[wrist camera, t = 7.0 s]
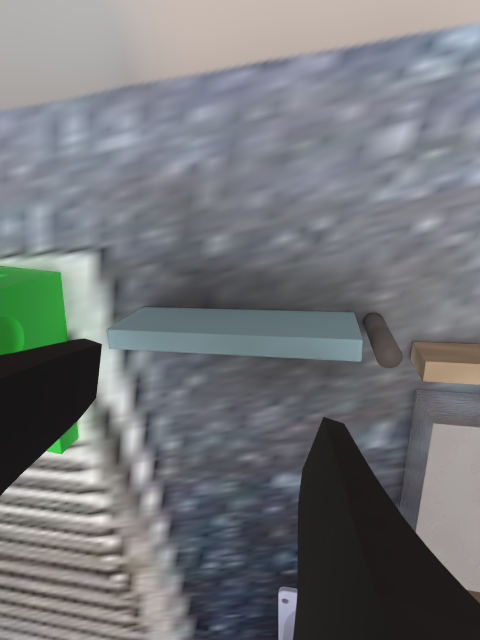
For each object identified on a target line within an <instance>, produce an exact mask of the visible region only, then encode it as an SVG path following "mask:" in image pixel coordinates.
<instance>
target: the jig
mask: <svg viewBox="0 0 480 640" xmlns="http://www.w3.org/2000/svg"><path fill="white" fill-rule="evenodd" d="M364 326H365V329H366V332H367V335H368V338H369V340H370V343H371V346H372V349H373V352H374V354H375V357H376V360H377V362H378V364H379V365H381V366H382V367H385V368H393V367H396V366H397V365H399V364H400V362H401V361H402V352H401V350H400V349H399V347H398V345H397V343H396V341H395V339H394V338H393V336H392V334H391V332H390V330H389V328H388V326H387V325H386V323H385V321H384V319H383V317H382V316H381V315H380V314H378V313H370V314H368V315H367V316H366V317H365V318H364ZM410 359H411V361H412V363H413V364H414V366H415V368H416V370H417V371H418V373H419V375H420V377H421V378H422V380H423V381H429V382H445V383H462V384H478V385H480V344H465V343H440V342H415V341H412V350H411V358H410ZM467 591H468V592H469V593H470V594H471V595H472V596H473V597H474V598H475V599H476V600H477V601H478V602H479V603H480V592H476V591H470V590H467Z"/></svg>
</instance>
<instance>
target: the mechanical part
mask: <svg viewBox="0 0 480 640" xmlns="http://www.w3.org/2000/svg"><path fill="white" fill-rule="evenodd" d="M65 341H68V338H67V329H66V320H65V310H64V301H63V292H62V283H61V274H60V273H59V272H50V271H40V270H31V269H22V268H13V267H4V266H0V355H3V354H9V353H14V352H19V351H23V350H28V349H33V348H37V347H42V346H47V345H51V344H56V343H61V342H65ZM77 438H78V430H77V422H76V423H75V424H74V425H73V426H72V427H71V428H70V429H69V430H68V431H67V432H66V433H65V434H64V435H62V436H61V437H60V438H59V439H58V440H57V441H56V442H55V443H54V444H53V445H52V446H51V447H50V448H49V449H48V450H47V451H49V452H54V453H59V454H62V453H63V452H64V451H65V450H66V449H67V448H68V447H69V446H70V445H71V444H72V443H73V442H74V441H75V440H76V439H77Z"/></svg>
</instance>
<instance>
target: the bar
mask: <svg viewBox="0 0 480 640" xmlns="http://www.w3.org/2000/svg"><path fill="white" fill-rule="evenodd" d="M106 332H107V338H108V345H109V349H127V350H146V351H166V352H185V353H204V354H223V355H243V356H262V357H281V358H300V359H319V360H339V361H358V362H361V358H362V345H363V339H362V336H361V332H360V329H359V326H358V323H357V320H356V316H355V313H354V312H321V311H281V310H241V309H201V308H161V307H143V308H141V309H139V310H138V311H136V312H134V313H133V314H131V315H129V316H128V317H126V318H124V319H123V320H121V321H120V322H118V323H116V324H115V325H113V326H111V327H110V328H108V329H106Z"/></svg>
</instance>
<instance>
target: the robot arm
mask: <svg viewBox="0 0 480 640" xmlns="http://www.w3.org/2000/svg"><path fill="white" fill-rule="evenodd" d="M101 348H102V344H100V343H97V342H94V341H91V340H88V339H77V340H71V341H65V342H61V343H56V344H51V345H47V346H42V347H37V348H33V349H28V350H23V351H19V352H14V353H9V354H3V355H0V496H1V495H2V493H3V492H4V491H5V490H6V489H7V488H8V487H9V486H10V485H11V484H12V483H13V482H14V481H15V480H16V479H17V478H18V477H19V476H20V475H21V474H22V473H23V472H24V471H25V470H26V469H27V468H28V467H29V466H30V465H32V464H33V463H34V462H35V461H36V460H37V459H38V458H39V457H40V456H41V455H42V454H43V453H44V452H45V451H47V450H48V449H49V448H50V447H51V446H52V445H53V444H54V443H55V442H56V441H57V440H58V439H59V438H60V437H61V436H62V435H64V434H65V433H66V432H67V431H68V430H69V429H70V428H71V427H72V426H73V425H74V424H75V423H76V422H77V421H78V420H79V418H80V417H81V416H82V415H83V414H84V412H85V411H86V410H87V409H88V407H89V406H90V405H91V404H92V402H93V401H94V400H95V398H96V394H97V385H98V376H99V366H100V357H101ZM278 622H279V640H480V603H479V602H478V601H477V600H476V599H475V598H474V597H473V596H472V595H471V594H470V593H469V592H468V591H467V590H466V589H465V588H464V587H463V586H462V585H461V583H460V582H459V581H458V580H457V579H456V578H455V577H454V576H453V575H452V574H451V573H450V572H449V570H448V569H447V568H446V567H445V566H444V565H443V564H442V563H441V562H440V561H439V560H438V558H437V557H436V556H435V555H434V554H433V553H432V552H431V550H430V549H429V548H428V547H427V546H426V544H425V543H424V542H423V541H422V540H421V538H420V537H419V536H418V535H417V533H416V532H415V531H414V530H413V528H412V527H411V526H410V525H409V523H408V522H407V521H406V520H405V518H404V517H403V516H402V514H401V513H400V512H399V510H398V509H397V507H396V506H395V505H394V503H393V502H392V500H391V499H390V498H389V496H388V495H387V493H386V492H385V490H384V489H383V487H382V486H381V484H380V483H379V481H378V480H377V478H376V477H375V475H374V474H373V472H372V470H371V469H370V467H369V466H368V464H367V462H366V461H365V459H364V457H363V456H362V454H361V452H360V450H359V449H358V447H357V445H356V444H355V442H354V440H353V438H352V436H351V435H350V433H349V431H348V430H347V428H346V426H345V425H344V423H340V422H337V421H334V420H331V419H328V418H325V417H323V420H322V422H321V425H320V427H319V430H318V432H317V435H316V437H315V440H314V442H313V445H312V447H311V450H310V452H309V455H308V457H307V460H306V462H305V465H304V467H303V471H302V478H301V485H300V493H299V502H298V584H297V589H296V588H290V587H281V588H279V594H278Z"/></svg>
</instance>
